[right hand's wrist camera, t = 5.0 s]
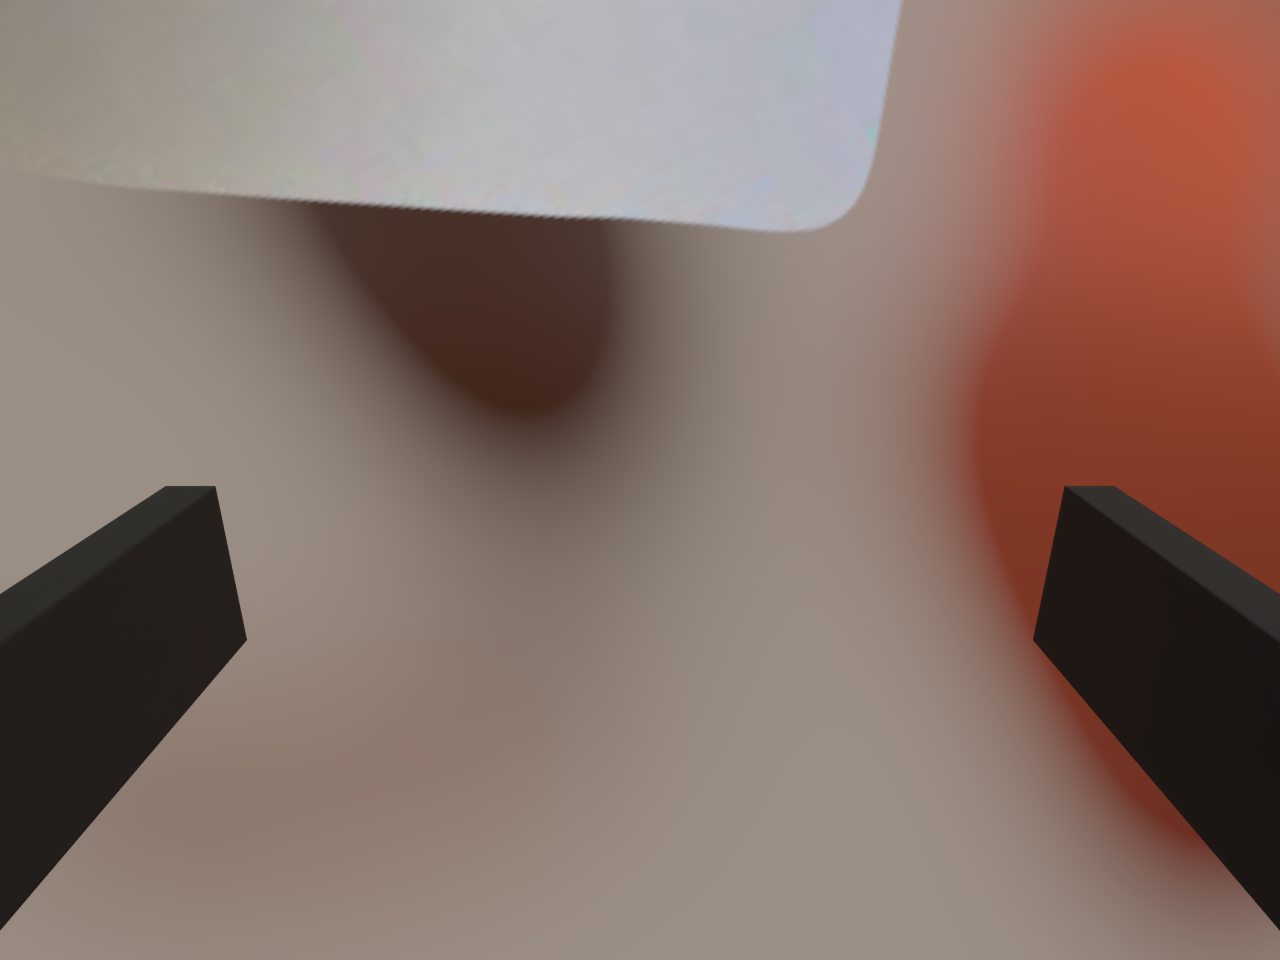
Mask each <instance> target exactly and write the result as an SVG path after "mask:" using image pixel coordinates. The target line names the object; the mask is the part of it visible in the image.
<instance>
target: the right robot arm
mask: <svg viewBox="0 0 1280 960" xmlns="http://www.w3.org/2000/svg"><path fill="white" fill-rule="evenodd" d="M246 640H247V638H246V633H245V628H244V623H243V618H242V613H241V609H240V604H239V599H238V594H237V589H236V584H235V580H234V575H233V570H232V565H231V560H230V555H229V550H228V545H227V540H226V536H225V531H224V526H223V521H222V516H221V511H220V506H219V501H218V497H217V492H216V487H215V486H165V487H164V488H162V489H161V490H159V491H158V492H156V493H155V494H153V495H151V496H150V497H148V498H147V499H145V500H144V501H142V502H141V503H139V504H138V505H136V506H135V507H133V508H132V509H130V510H128V511H127V512H125V513H124V514H122V515H121V516H119V517H118V518H116V519H115V520H113V521H112V522H110V523H109V524H107V525H105V526H104V527H102V528H101V529H99V530H98V531H96V532H95V533H93V534H92V535H90V536H89V537H87V538H86V539H84V540H82V541H81V542H79V543H78V544H76V545H75V546H73V547H72V548H70V549H69V550H67V551H66V552H64V553H63V554H61V555H59V556H58V557H56V558H55V559H53V560H52V561H50V562H49V563H47V564H46V565H44V566H43V567H41V568H39V569H38V570H36V571H35V572H33V573H32V574H30V575H29V576H27V577H26V578H24V579H23V580H21V581H20V582H18V583H16V584H15V585H13V586H12V587H10V588H9V589H7V590H6V591H4V592H3V593H1V594H0V930H1V929H2V928H3V927H4V925H5V924H6V923H7V922H8V921H9V920H10V918H11V917H12V916H13V915H14V914H15V912H16V911H17V910H18V909H19V908H20V907H21V905H22V904H23V903H24V902H25V901H26V900H27V898H28V897H29V896H30V895H31V894H32V892H33V891H34V890H35V889H36V888H37V887H38V885H39V884H40V883H41V882H42V881H43V879H44V878H45V877H46V876H47V875H48V874H49V872H50V871H51V870H52V869H53V868H54V867H55V865H56V864H57V863H58V862H59V861H60V859H61V858H62V857H63V856H64V855H65V854H66V852H67V851H68V850H69V849H70V848H71V847H72V845H73V844H74V843H75V842H76V841H77V839H78V838H79V837H80V836H81V835H82V834H83V832H84V831H85V830H86V829H87V828H88V826H89V825H90V824H91V823H92V822H93V821H94V819H95V818H96V817H97V816H98V815H99V814H100V812H101V811H102V810H103V809H104V808H105V806H106V805H107V804H108V803H109V802H110V801H111V799H112V798H113V797H114V796H115V795H116V794H117V792H118V791H119V790H120V789H121V788H122V786H123V785H124V784H125V783H126V782H127V781H128V779H129V778H130V777H131V776H132V775H133V774H134V772H135V771H136V770H137V769H138V768H139V766H140V765H141V764H142V763H143V762H144V761H145V759H146V758H147V757H148V756H149V755H150V753H151V752H152V751H153V750H154V749H155V748H156V746H157V745H158V744H159V743H160V742H161V741H162V739H163V738H164V737H165V736H166V735H167V733H168V732H169V731H170V730H171V729H172V728H173V726H174V725H175V724H176V723H177V722H178V720H179V719H180V718H181V717H182V716H183V715H184V713H185V712H186V711H187V710H188V709H189V708H190V706H191V705H192V704H193V703H194V702H195V700H196V699H197V698H198V697H199V696H200V695H201V693H202V692H203V691H204V690H205V689H206V688H207V686H208V685H209V684H210V683H211V682H212V680H213V679H214V678H215V677H216V676H217V675H218V673H219V672H220V671H221V670H222V669H223V668H224V666H225V665H226V664H227V663H228V662H229V660H230V659H231V658H232V657H233V656H234V655H235V653H236V652H237V651H238V650H239V649H240V648H241V646H242V645H243V644H244V643H245V642H246ZM1033 640H1034V642H1035V643H1036V644H1037V645H1038V646H1039V647H1040V649H1041V650H1042V651H1043V652H1044V653H1045V655H1046V656H1047V657H1048V658H1049V659H1050V660H1051V662H1052V663H1053V664H1054V665H1055V666H1056V668H1057V669H1058V670H1059V671H1060V672H1061V673H1062V675H1063V676H1064V677H1065V678H1066V679H1067V680H1068V682H1069V683H1070V684H1071V685H1072V686H1073V688H1074V689H1075V690H1076V691H1077V692H1078V693H1079V695H1080V696H1081V697H1082V698H1083V699H1084V701H1085V702H1086V703H1087V704H1088V705H1089V706H1090V708H1091V709H1092V710H1093V711H1094V712H1095V713H1096V715H1097V716H1098V717H1099V718H1100V719H1101V720H1102V722H1103V723H1104V724H1105V725H1106V726H1107V728H1108V729H1109V730H1110V731H1111V732H1112V733H1113V735H1114V736H1115V737H1116V738H1117V739H1118V741H1119V742H1120V743H1121V744H1122V745H1123V746H1124V748H1125V749H1126V750H1127V751H1128V752H1129V753H1130V755H1131V756H1132V757H1133V758H1134V759H1135V761H1136V762H1137V763H1138V764H1139V765H1140V766H1141V768H1142V769H1143V770H1144V771H1145V772H1146V774H1147V775H1148V776H1149V777H1150V778H1151V779H1152V781H1153V782H1154V783H1155V784H1156V785H1157V786H1158V788H1159V789H1160V790H1161V791H1162V792H1163V794H1164V795H1165V796H1166V797H1167V798H1168V799H1169V801H1170V802H1171V803H1172V804H1173V805H1174V806H1175V808H1176V809H1177V810H1178V811H1179V812H1180V814H1181V815H1182V816H1183V817H1184V818H1185V819H1186V821H1187V822H1188V823H1189V824H1190V825H1191V827H1192V828H1193V829H1194V830H1195V831H1196V832H1197V834H1198V835H1199V836H1200V837H1201V838H1202V839H1203V841H1204V842H1205V843H1206V844H1207V845H1208V847H1209V848H1210V849H1211V850H1212V851H1213V852H1214V854H1215V855H1216V856H1217V857H1218V858H1219V859H1220V861H1221V862H1222V863H1223V864H1224V865H1225V866H1226V868H1227V869H1228V870H1229V871H1230V872H1231V874H1232V875H1233V876H1234V877H1235V878H1236V879H1237V881H1238V882H1239V883H1240V884H1241V885H1242V887H1243V888H1244V889H1245V890H1246V891H1247V892H1248V894H1249V895H1250V896H1251V897H1252V898H1253V899H1254V901H1255V902H1256V903H1257V904H1258V905H1259V907H1260V908H1261V909H1262V910H1263V911H1264V912H1265V914H1266V915H1267V916H1268V917H1269V918H1270V920H1271V921H1272V922H1273V923H1274V924H1275V925H1276V927H1277V928H1278V929H1279V930H1280V594H1279V593H1277V592H1276V591H1274V590H1273V589H1271V588H1270V587H1268V586H1267V585H1265V584H1264V583H1262V582H1260V581H1259V580H1257V579H1256V578H1254V577H1253V576H1251V575H1250V574H1248V573H1247V572H1245V571H1244V570H1242V569H1241V568H1239V567H1237V566H1236V565H1234V564H1233V563H1231V562H1230V561H1228V560H1227V559H1225V558H1224V557H1222V556H1221V555H1219V554H1217V553H1216V552H1214V551H1213V550H1211V549H1210V548H1208V547H1207V546H1205V545H1204V544H1202V543H1201V542H1199V541H1198V540H1196V539H1194V538H1193V537H1191V536H1190V535H1188V534H1187V533H1185V532H1184V531H1182V530H1181V529H1179V528H1178V527H1176V526H1175V525H1173V524H1171V523H1170V522H1168V521H1167V520H1165V519H1164V518H1162V517H1161V516H1159V515H1158V514H1156V513H1155V512H1153V511H1152V510H1150V509H1148V508H1147V507H1145V506H1144V505H1142V504H1141V503H1139V502H1138V501H1136V500H1135V499H1133V498H1132V497H1130V496H1129V495H1127V494H1125V493H1124V492H1122V491H1121V490H1119V489H1118V488H1116V487H1115V486H1065V487H1064V492H1063V497H1062V502H1061V506H1060V511H1059V516H1058V521H1057V526H1056V531H1055V536H1054V540H1053V545H1052V550H1051V555H1050V560H1049V565H1048V570H1047V575H1046V579H1045V584H1044V589H1043V594H1042V599H1041V604H1040V609H1039V614H1038V618H1037V624H1036V628H1035V633H1034V638H1033Z"/></svg>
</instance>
